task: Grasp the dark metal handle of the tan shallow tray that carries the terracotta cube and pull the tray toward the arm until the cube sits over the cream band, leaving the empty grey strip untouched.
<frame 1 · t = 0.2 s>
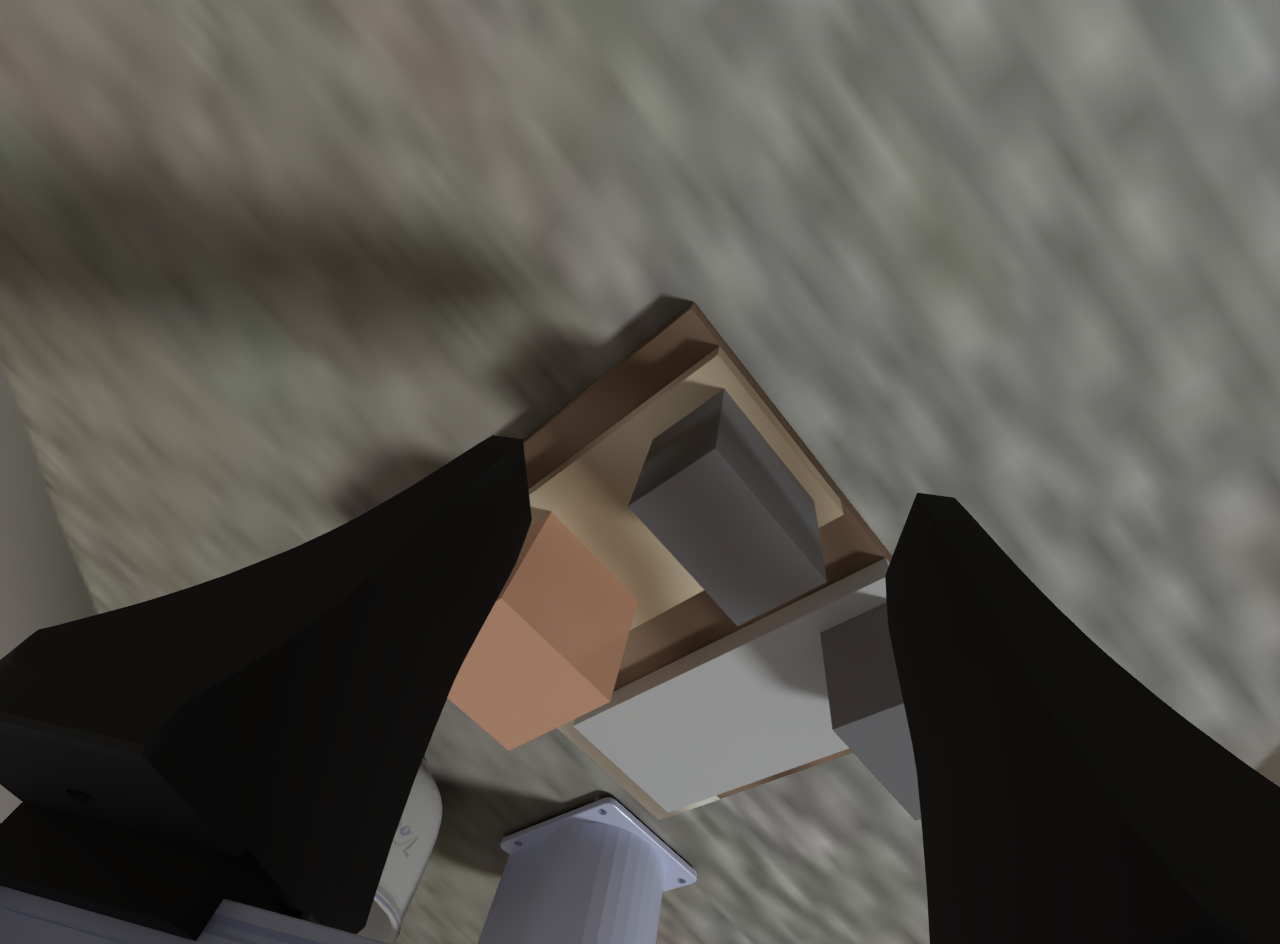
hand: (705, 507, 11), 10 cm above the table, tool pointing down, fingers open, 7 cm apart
teacup: (357, 746, 36), on the table
terracotta cube: (551, 585, 24), point 2 cm above the table, touching tan shallow tray
grey strip: (760, 748, 24), point 4 cm above the table, slide at 0.0 cm
tan shallow tray: (594, 579, 21), point 4 cm above the table, slide at 0.0 cm, touching terracotta cube
lane board: (674, 613, 26), on the table
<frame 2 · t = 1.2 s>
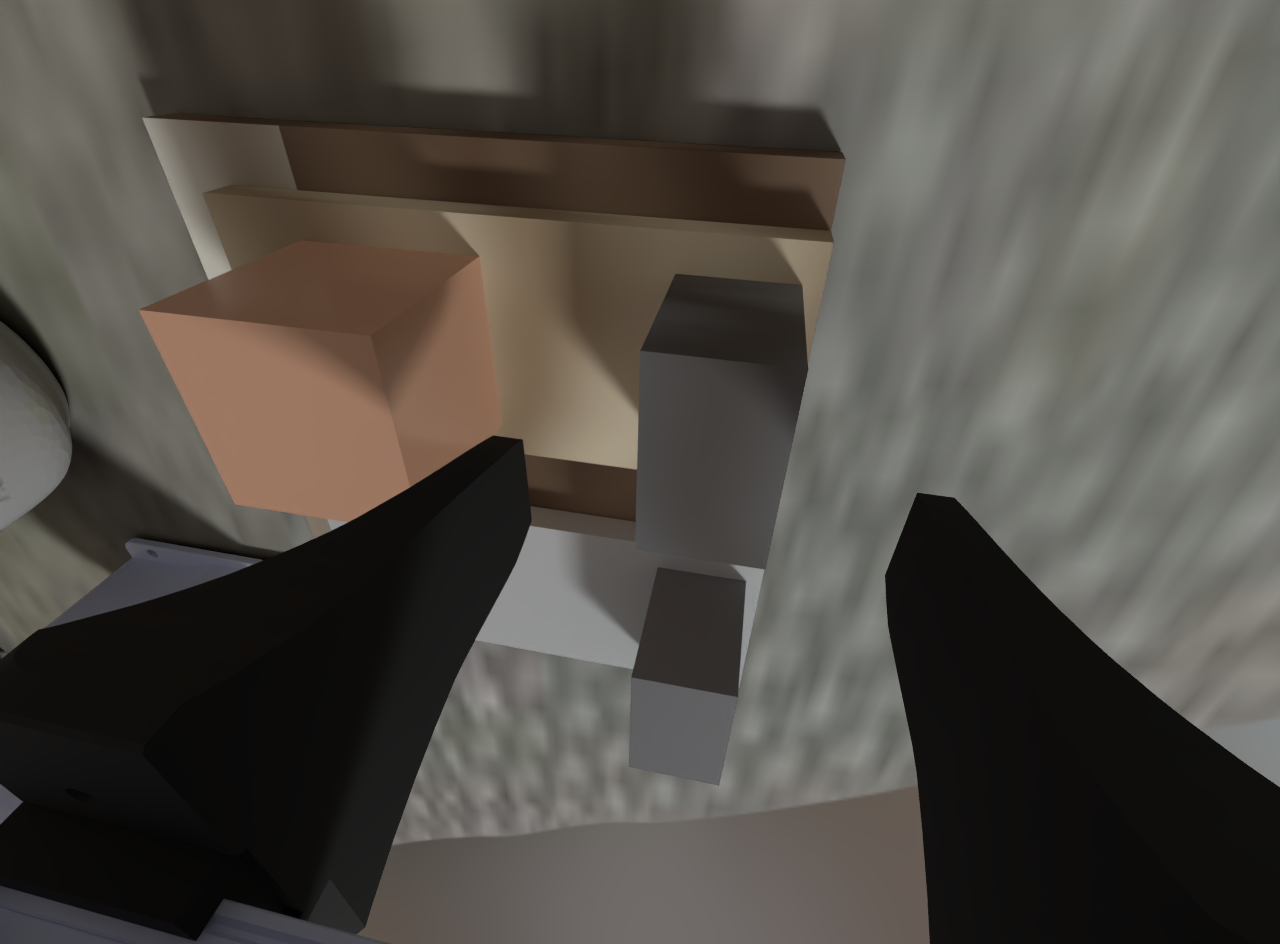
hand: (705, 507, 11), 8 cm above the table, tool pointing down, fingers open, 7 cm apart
terracotta cube: (408, 338, 17), point 2 cm above the table, touching tan shallow tray
grey strip: (521, 630, 21), point 4 cm above the table, slide at 0.0 cm
tan shallow tray: (484, 378, 15), point 4 cm above the table, slide at 0.0 cm, touching terracotta cube
lane board: (518, 452, 21), on the table
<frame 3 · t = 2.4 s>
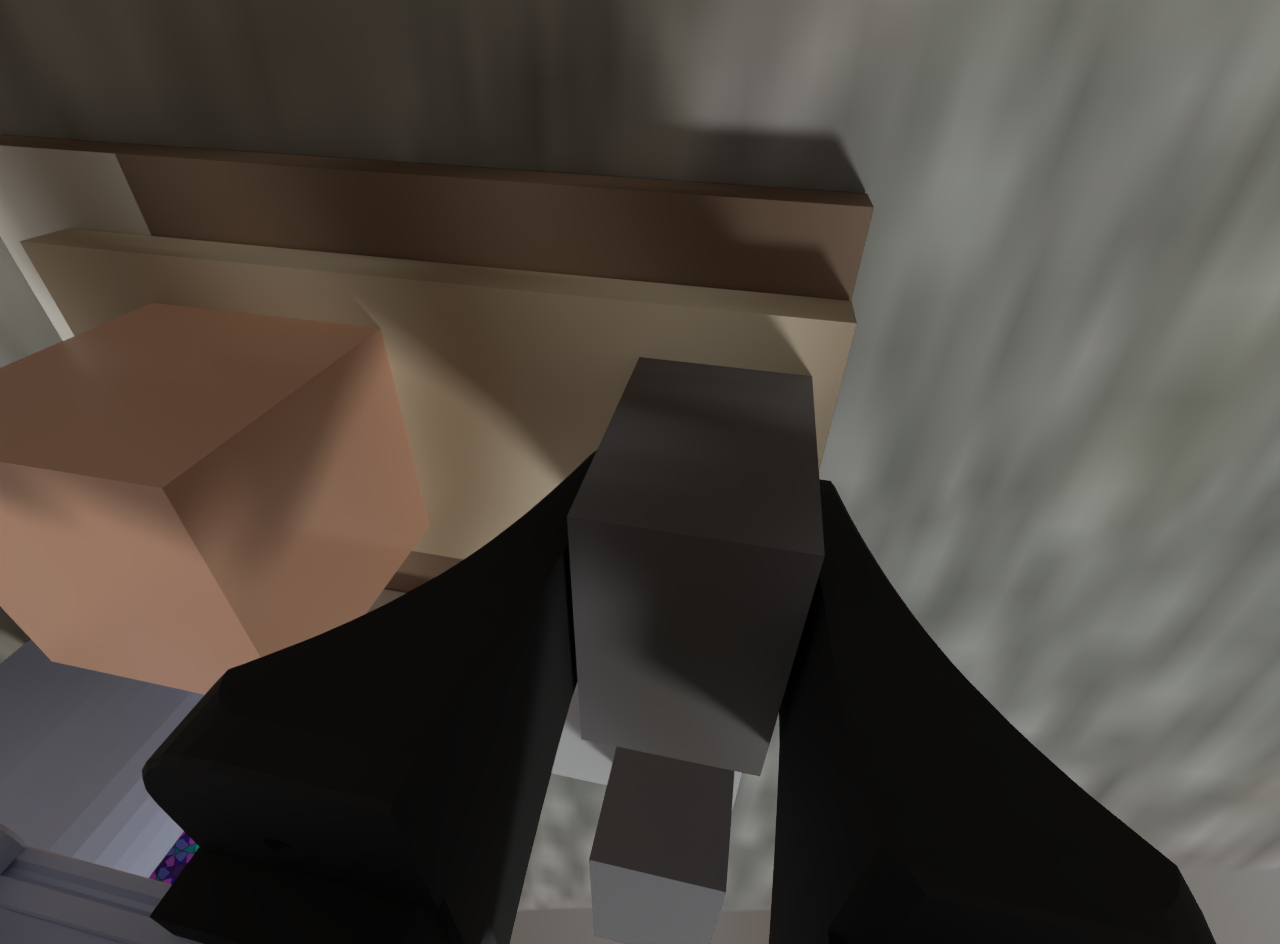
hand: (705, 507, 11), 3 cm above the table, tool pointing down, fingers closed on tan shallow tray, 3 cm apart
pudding: (212, 840, 42), on the table
terracotta cube: (303, 423, 13), point 2 cm above the table, touching tan shallow tray
grey strip: (466, 757, 17), point 4 cm above the table, slide at 0.0 cm
tan shallow tray: (387, 489, 11), point 4 cm above the table, slide at 0.0 cm, touching gripper, terracotta cube
lane board: (463, 540, 17), on the table
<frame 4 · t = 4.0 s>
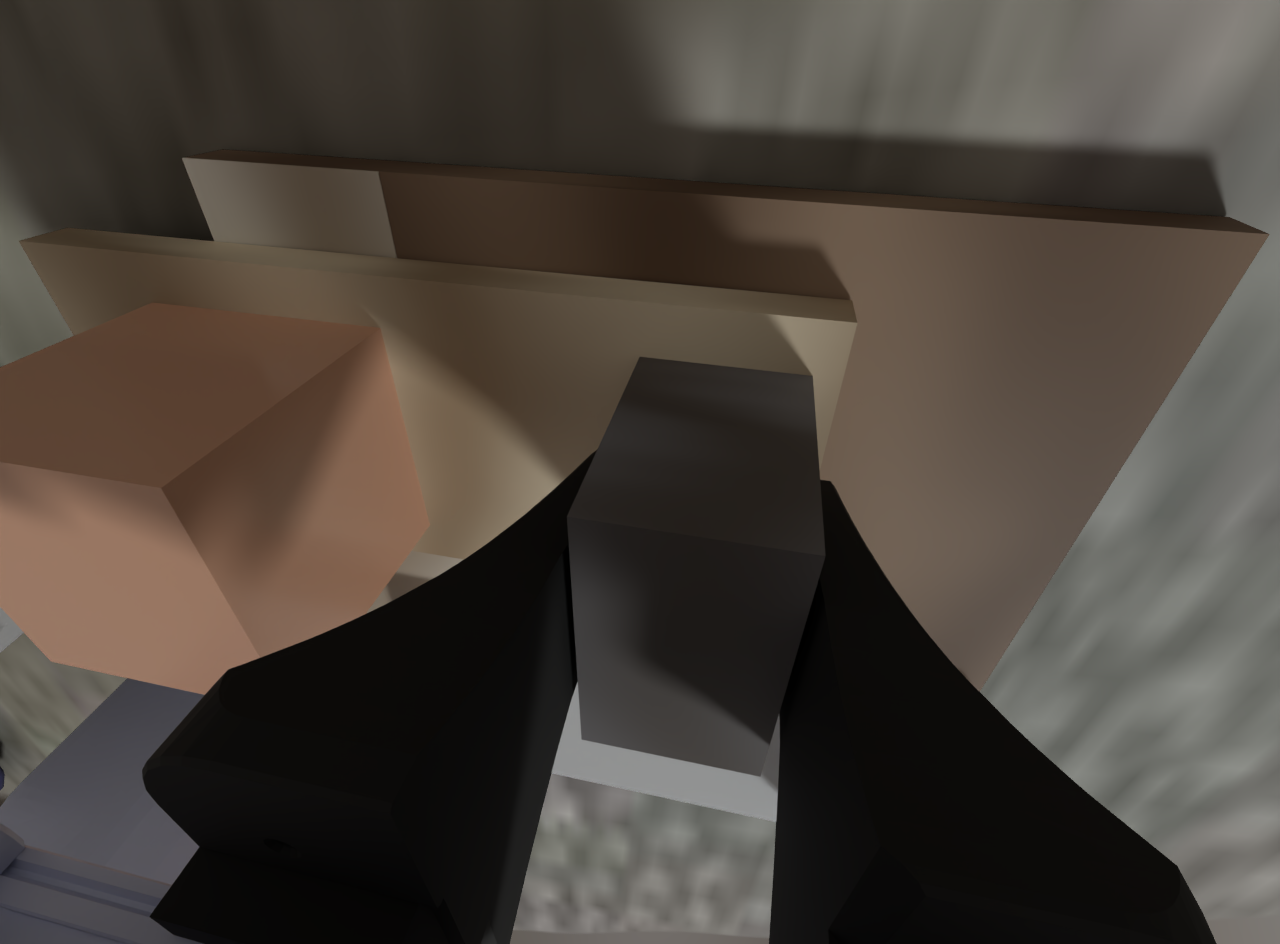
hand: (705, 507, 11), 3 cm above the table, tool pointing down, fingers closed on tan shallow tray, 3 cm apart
terracotta cube: (303, 423, 13), point 2 cm above the table, touching tan shallow tray
grey strip: (651, 798, 17), point 4 cm above the table, slide at 0.0 cm
tan shallow tray: (387, 489, 11), point 4 cm above the table, slide at 5.5 cm, touching gripper, terracotta cube
lane board: (647, 570, 17), on the table
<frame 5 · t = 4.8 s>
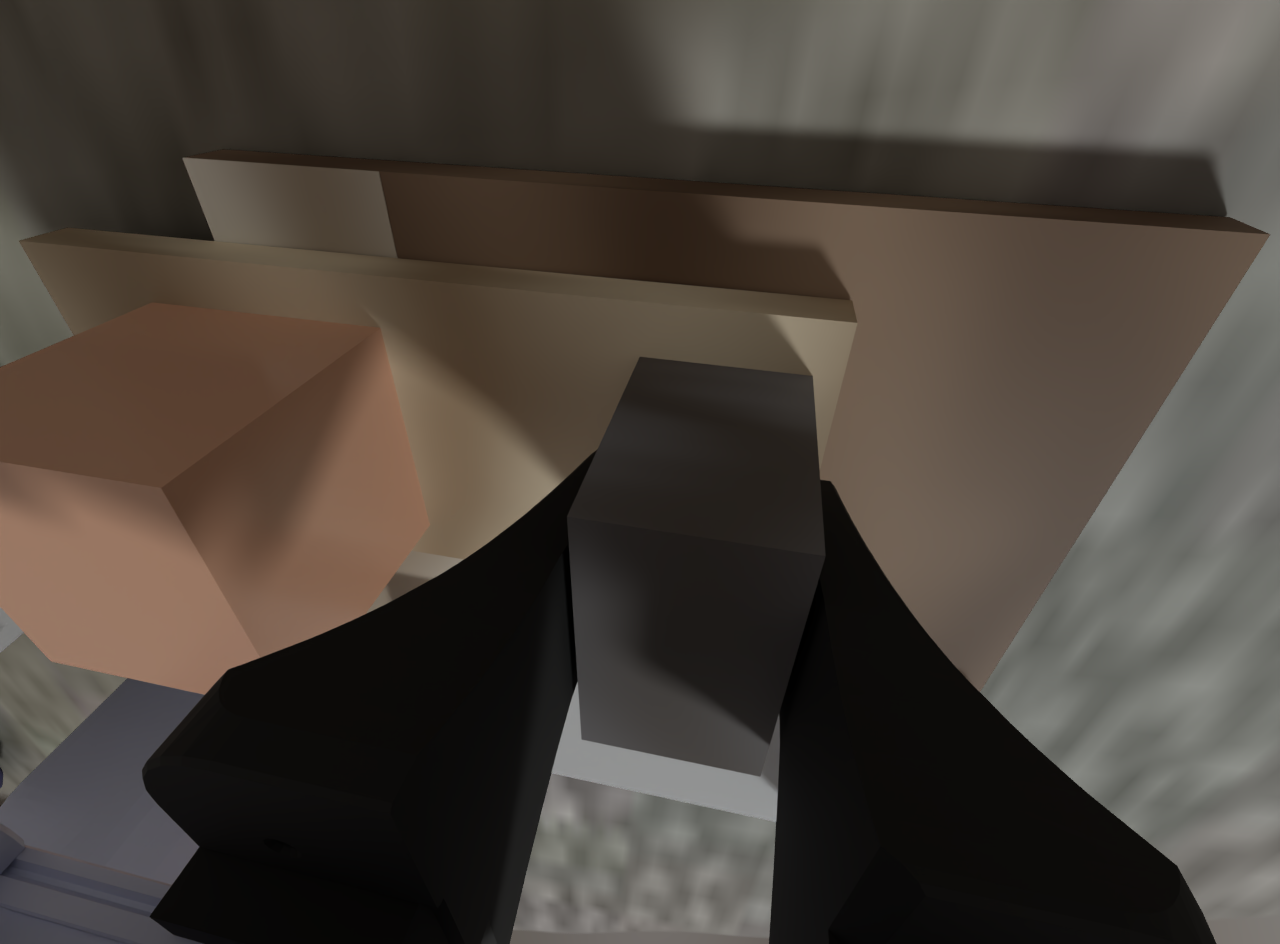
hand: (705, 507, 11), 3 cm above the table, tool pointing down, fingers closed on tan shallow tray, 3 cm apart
terracotta cube: (303, 423, 13), point 2 cm above the table, touching tan shallow tray
grey strip: (652, 798, 17), point 4 cm above the table, slide at 0.0 cm
tan shallow tray: (387, 489, 11), point 4 cm above the table, slide at 5.5 cm, touching gripper, terracotta cube
lane board: (647, 570, 17), on the table
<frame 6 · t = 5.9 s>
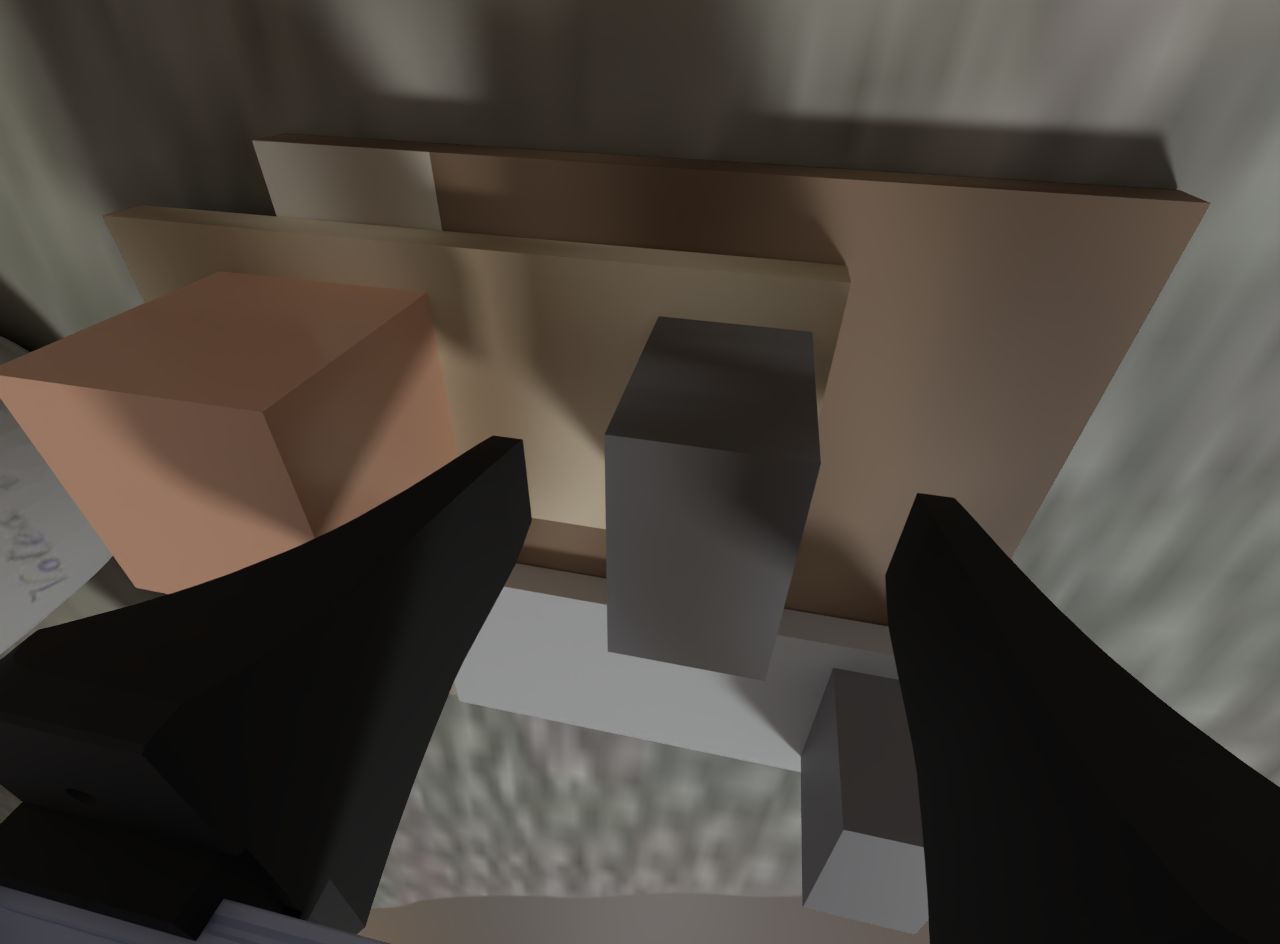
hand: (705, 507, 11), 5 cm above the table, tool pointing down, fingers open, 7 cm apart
teacup: (3, 376, 20), on the table
terracotta cube: (351, 383, 14), point 2 cm above the table, touching tan shallow tray
grey strip: (664, 737, 18), point 4 cm above the table, slide at 0.0 cm
tan shallow tray: (432, 437, 13), point 4 cm above the table, slide at 5.5 cm, touching terracotta cube
lane board: (660, 527, 18), on the table
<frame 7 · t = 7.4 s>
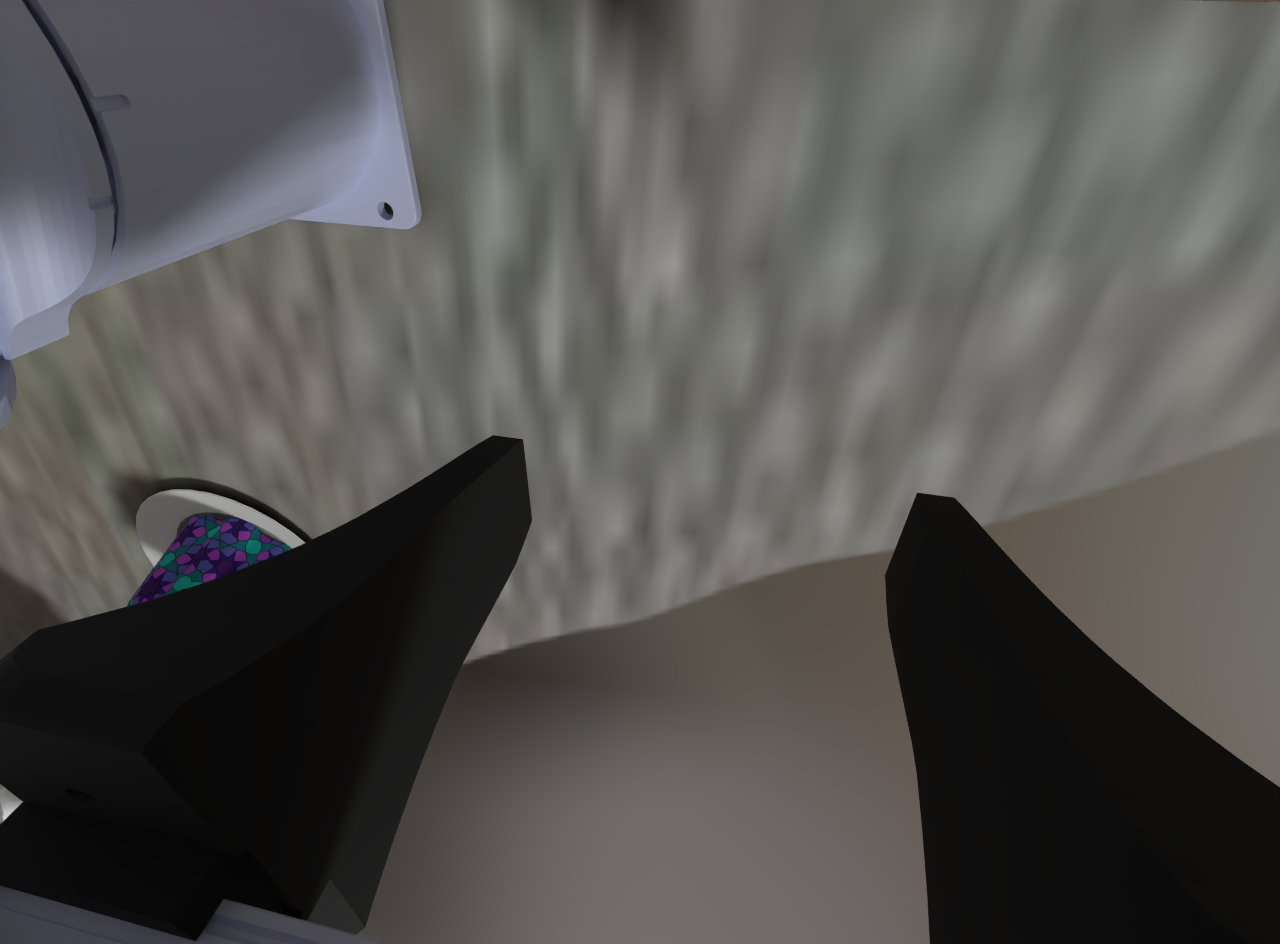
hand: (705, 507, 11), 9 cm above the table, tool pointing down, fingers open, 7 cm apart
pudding: (258, 565, 33), on the table
decorative rooster: (143, 711, 47), on the table
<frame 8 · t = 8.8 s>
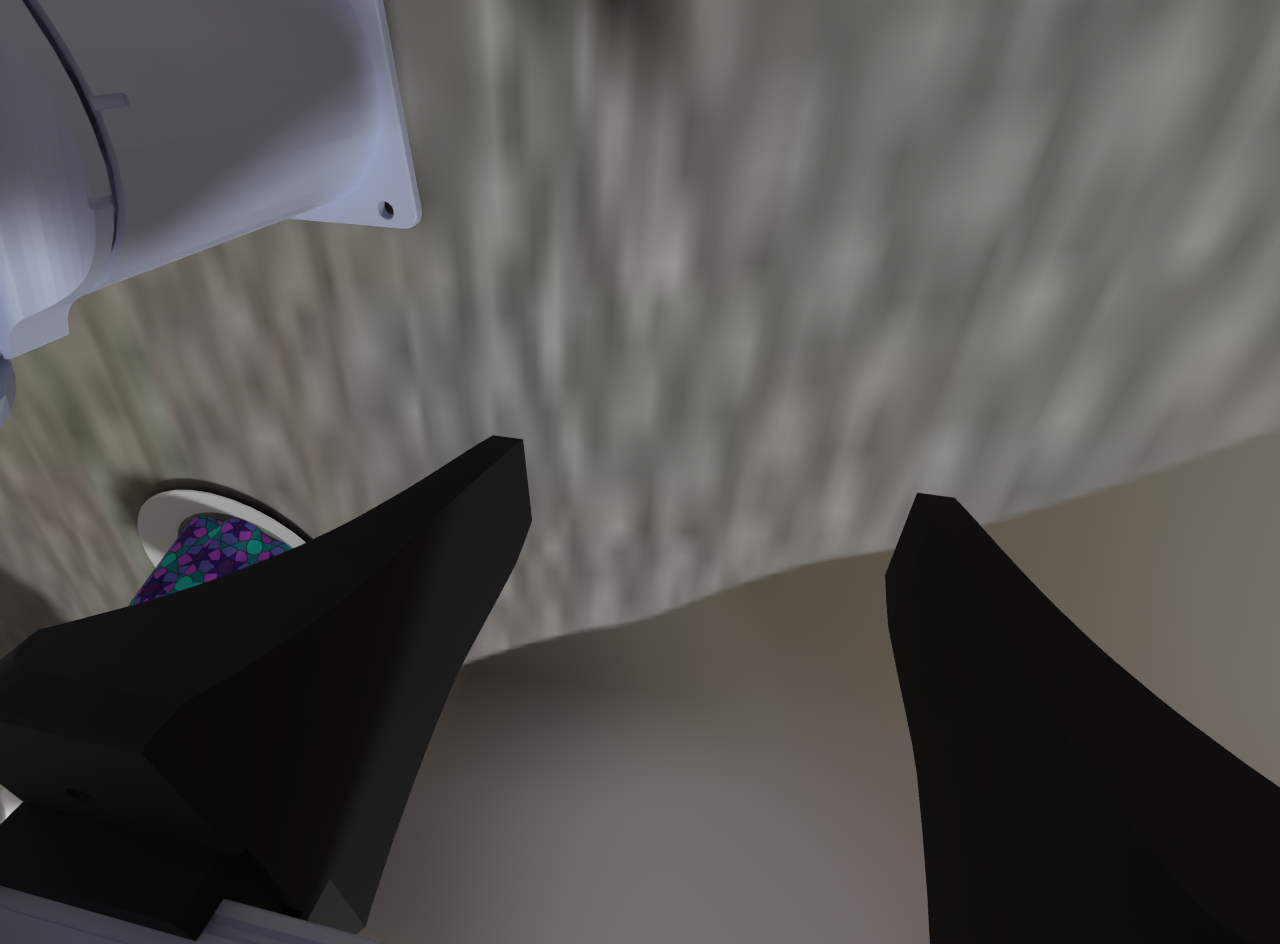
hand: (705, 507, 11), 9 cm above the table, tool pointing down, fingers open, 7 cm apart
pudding: (260, 566, 33), on the table
decorative rooster: (145, 712, 47), on the table
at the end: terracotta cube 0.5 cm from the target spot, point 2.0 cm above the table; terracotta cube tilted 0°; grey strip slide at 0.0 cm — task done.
